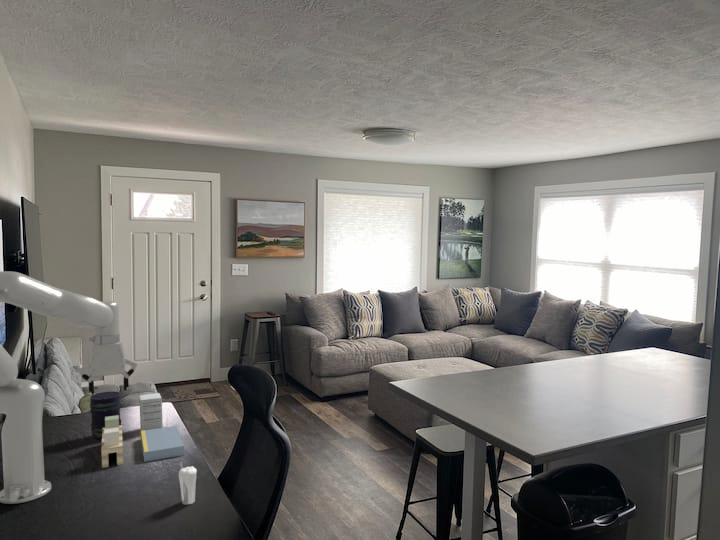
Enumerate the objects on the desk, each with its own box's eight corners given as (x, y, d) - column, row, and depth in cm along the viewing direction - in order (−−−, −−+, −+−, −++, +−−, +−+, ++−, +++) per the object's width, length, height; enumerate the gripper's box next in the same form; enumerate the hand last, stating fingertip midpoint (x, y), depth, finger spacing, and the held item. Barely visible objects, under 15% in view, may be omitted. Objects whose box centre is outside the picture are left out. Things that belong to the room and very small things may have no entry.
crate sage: (119, 430, 183) (118, 418, 183) (105, 432, 181) (104, 420, 181) (119, 427, 187) (118, 415, 187) (105, 429, 185) (105, 416, 185)
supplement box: (140, 428, 202) (138, 395, 202) (161, 425, 206) (160, 392, 205) (141, 434, 196) (140, 400, 195) (163, 431, 199) (161, 397, 198)
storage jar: (123, 430, 201) (121, 382, 200) (120, 439, 191) (118, 388, 190) (93, 433, 198) (91, 384, 197) (89, 443, 188) (86, 391, 187)
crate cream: (119, 444, 170) (118, 431, 170) (104, 446, 169) (103, 433, 168) (119, 440, 174) (118, 427, 174) (104, 442, 172) (104, 429, 172)
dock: (184, 455, 176) (183, 445, 176) (144, 461, 171) (143, 452, 171) (176, 433, 196) (176, 425, 196) (141, 439, 191) (140, 430, 191)
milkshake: (189, 495, 147) (188, 459, 146) (201, 501, 144) (199, 463, 143) (174, 501, 143) (173, 464, 143) (185, 507, 140) (184, 469, 140)
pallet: (123, 465, 169) (122, 446, 169) (102, 468, 167) (101, 449, 166) (122, 442, 189) (121, 425, 189) (103, 445, 187) (102, 427, 186)
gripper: (76, 344, 169) (78, 398, 170) (136, 338, 177) (138, 390, 178) (77, 340, 176) (79, 392, 177) (135, 335, 184) (137, 385, 184)
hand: (109, 391), depth 177 cm, fingers open, 9 cm apart
